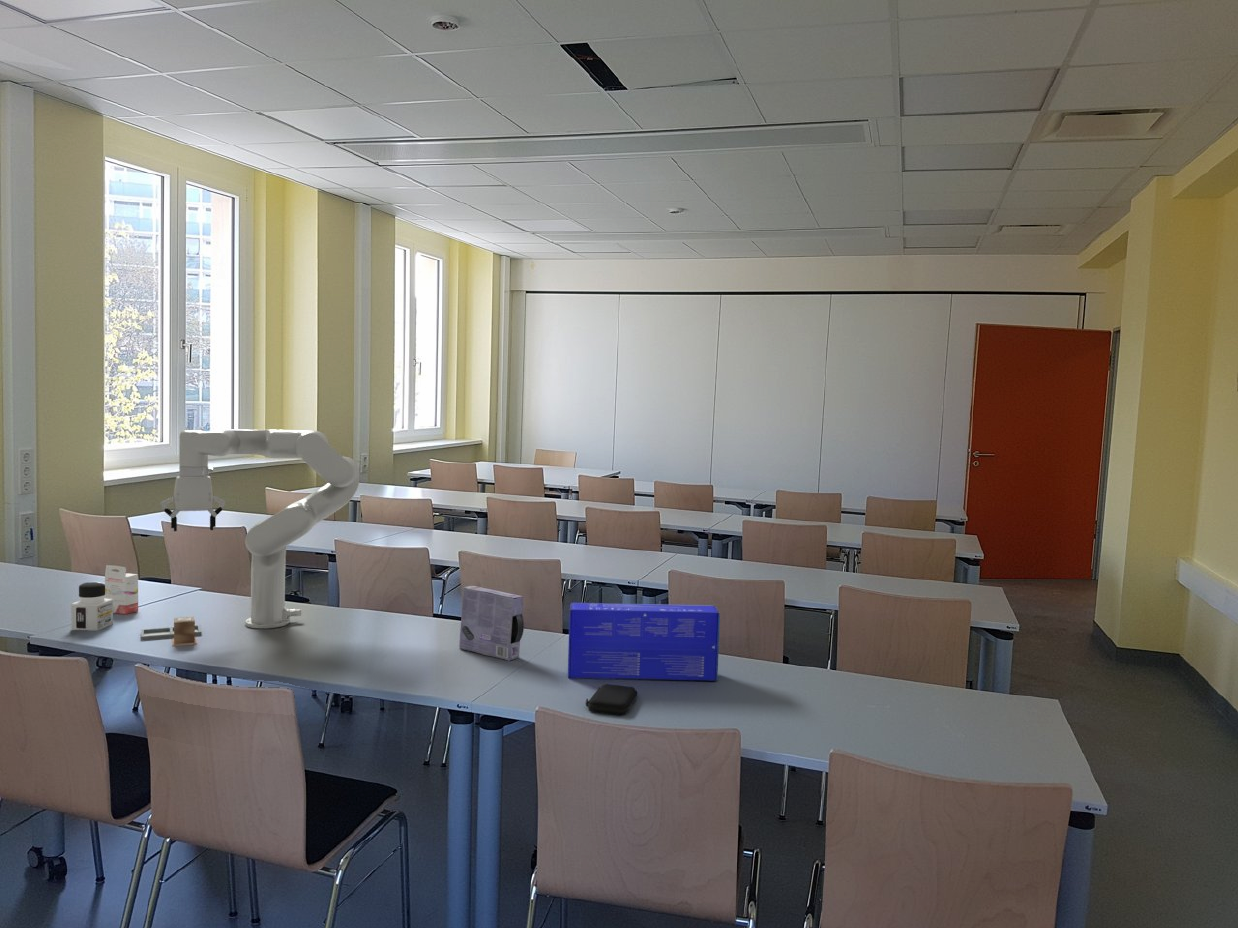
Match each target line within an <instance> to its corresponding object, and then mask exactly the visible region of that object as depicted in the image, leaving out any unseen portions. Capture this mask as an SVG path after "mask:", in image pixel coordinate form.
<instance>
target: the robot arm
mask: <svg viewBox="0 0 1238 928" xmlns="http://www.w3.org/2000/svg"><path fill="white" fill-rule="evenodd" d="M178 438H179V444H178V445H179V446H178V447H179V450H178V451H179V457H178V459H179V460H178V462H179V463H178V464H179V468H178V469H179V472H178V473H179V476H176V477H175V482H174V490H173V493H174V494H173V496H171V497H169V498H167V499H165V500H163V501H161V502H160V503H159V504H160V506H161V508H162V510H163V511H164V513H165V514H166V515H168V516H169V517H170V521H171V522H170V528H171V529H173V532H178V531H177V530H178V521H177V520H178V519H177V518H178V517H177V515H178V514H179V513H180V512H197V511H198V512H206V511H208V513H209V514H210V515H209V531H214V528H216V522H217V521H216V520H217V519H216V517H217V516H218V515H219V514H220V513H221V512H222V511H223V509H224V507H225V506H226V504H227V502H226V500H224V499H221V498H219V497H217V496H215V495H213V486H212V485H213V483H212V479H211V476H209V475H210V474H213V473H214V468H213V467H209V460H208V459H209V456H212V457H226V456H228V455H257V456H263V457H266V458H267V459H269V458H270V459H301V460H302V461H303V462H304V463H305V464H306V465H307V466H309V468H310V469H312V470H313V471H314V472H315V473H317V474H318V475H319V476H320V477H321V478H322V479H323V480H325V481H326V482H327V483H325V484H324V485H323V486H321V487H320V488H318V489H316V490H315V491H313V492H311V493H310V494H308V495H307V496H305V497H303V498H302V499H300V500H297V501H294V502H292V503H291V504H288V505H287V506H286V507H285V508H283V509H281V510H280V511H278V512H276V513H275V514H273V515H271V516H270V517H268V518H265V519H263V520H261V521H259V522H257V523H256V524H255V525H254V526H252V527H251V528H250V529H249V530H248V531H247V534H246V535H245V539H244V540H245V541H244V542H245V546H246V547H245V548H246V549H247V550H248V552H250V554H251V563H250V564H251V567H250V570H251V572H250V576H251V577H250V617H248V618H247V619H246V620H244V625H245V626H246V627H248V628H252V629H275V628H276V629H277V628H280V627H285V626H287V625H289V624H290V623H291V617H301V616H302V609H296V608H292V609H291V608H290V609H289V608H287V607H286V604H285V603H286V560H287V559H286V555H287V546H289V545H290V544H292V543H294V542H295V541H297V540H298V539H300V538H302V537H303V536H305V535H307V534H308V533H309V532H310V531H311V530H312V529H313V527H315V526H316V525H318V523H320V522H322V521H324V520H325V519H327V518H329V517H330V516H331V515H333V514H334V513H336V512H337V511H340V509H342V508H343V507H344V506H346V505H347V504H348V503H349V502H350V501H351V500H352V499H353V497H354V495H356V493H357V490H358V488H359V484H360V468H359V465H358V464H357V462H356V461H355V460H354V459H353V458H351V457H348V456H343V455H341V453H339V452H337V450H335V448H333V446H331V445H330V444H329V440H328V437H327V436H326V435H325V434H324V433H323V432H321V431H318V430H303V429H302V430H300V429H219V430H213V431H205V430H200V429H185V430H181V431H180V433H179V437H178ZM214 502H215V503H218V504H219V505H218V507H216V509H213V504H214ZM171 503H173V507H174V508H173V510H171V509H170V508H169V507H168V505H169V504H171Z"/></svg>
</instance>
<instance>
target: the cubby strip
mask: <svg viewBox="0 0 1238 928" xmlns="http://www.w3.org/2000/svg"><path fill="white" fill-rule="evenodd" d="M199 636H202V627H201V625H200V624H195V637H199ZM162 639H174V626H168V627H159V628H158V627H157V628H156V627H155V628H143V629H141V630H140V641H151V640H162Z"/></svg>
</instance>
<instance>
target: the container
mask: <svg viewBox="0 0 1238 928" xmlns="http://www.w3.org/2000/svg"><path fill="white" fill-rule="evenodd" d="M78 599H79V600H78V601H76V602H75V601H74V602H72V603H71V604H70V621H71V622H70V630H71V631H100V630H102V629H104V628H106V627H109V626H111V625H113V624H114V613H113V599H105V582H101V581H86V582H83V583H81V584H80V585H79V586H78Z"/></svg>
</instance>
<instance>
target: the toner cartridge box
mask: <svg viewBox="0 0 1238 928" xmlns="http://www.w3.org/2000/svg"><path fill="white" fill-rule="evenodd" d="M568 617H569V619H568V649H567V650H568V652H567V653H568V654H567V678H568V679H573V680H574V679H577V680H578V679H581V680H583V679H584V680H585V679H586V680H587V679H589V680H624V681H625V680H626V681H628V680H629V681H630V680H631V681H633V680H635V681H712V682H717V681H718V675H719V673H718V671H719V649H720V648H719V647H720V628H721V627H720V625H721V624H720V623H721V612H720V611H719V609H718V608H717V606H715V605H710V604H709V605H707V604H706V605H704V604H702V605H701V604H700V605H699V604H653V603H651V604H650V603H649V604H648V603H646V604H644V603H601V602H600V603H599V602H598V603H597V602H596V603H595V602H571V603H570V607H569V616H568Z"/></svg>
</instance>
